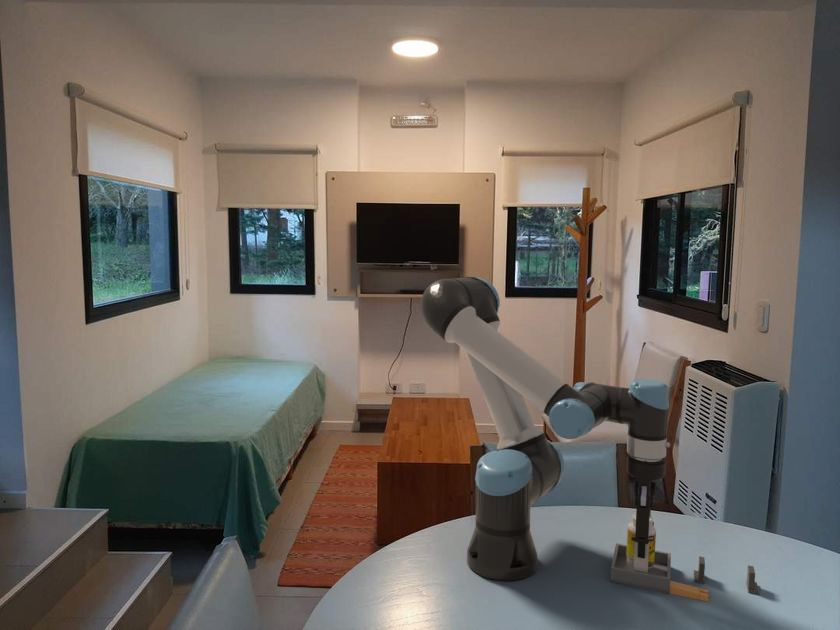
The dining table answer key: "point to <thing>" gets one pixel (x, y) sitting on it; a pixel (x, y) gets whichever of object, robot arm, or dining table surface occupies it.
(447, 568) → the dining table surface
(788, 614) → the dining table surface
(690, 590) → the fuse puller tool
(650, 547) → the supplement bottle
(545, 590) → the dining table surface
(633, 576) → the parts tray
